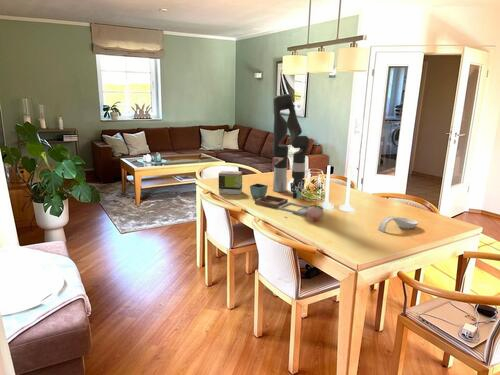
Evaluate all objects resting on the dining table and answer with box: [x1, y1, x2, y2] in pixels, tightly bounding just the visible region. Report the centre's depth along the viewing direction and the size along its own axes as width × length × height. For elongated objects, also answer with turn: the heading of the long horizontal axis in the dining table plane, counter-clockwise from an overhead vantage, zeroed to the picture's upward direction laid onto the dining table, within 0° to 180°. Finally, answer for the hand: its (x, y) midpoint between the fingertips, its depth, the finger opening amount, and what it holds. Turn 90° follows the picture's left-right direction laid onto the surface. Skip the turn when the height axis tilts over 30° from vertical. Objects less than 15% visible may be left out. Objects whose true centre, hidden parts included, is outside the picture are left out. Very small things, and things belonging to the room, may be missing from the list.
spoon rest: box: [377, 215, 419, 233], centre depth 197 cm, size 24×12×7 cm, turn 117°
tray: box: [277, 201, 309, 217], centre depth 223 cm, size 14×18×2 cm
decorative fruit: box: [306, 203, 324, 222], centre depth 205 cm, size 9×8×10 cm
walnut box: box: [254, 194, 289, 209], centre depth 233 cm, size 15×15×3 cm
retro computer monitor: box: [218, 170, 243, 196], centre depth 257 cm, size 15×10×15 cm
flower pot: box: [249, 182, 268, 200], centre depth 245 cm, size 9×9×9 cm
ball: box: [295, 189, 302, 199], centre depth 221 cm, size 5×5×5 cm
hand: (296, 197), depth 221 cm, fingers closed on ball, 5 cm apart
